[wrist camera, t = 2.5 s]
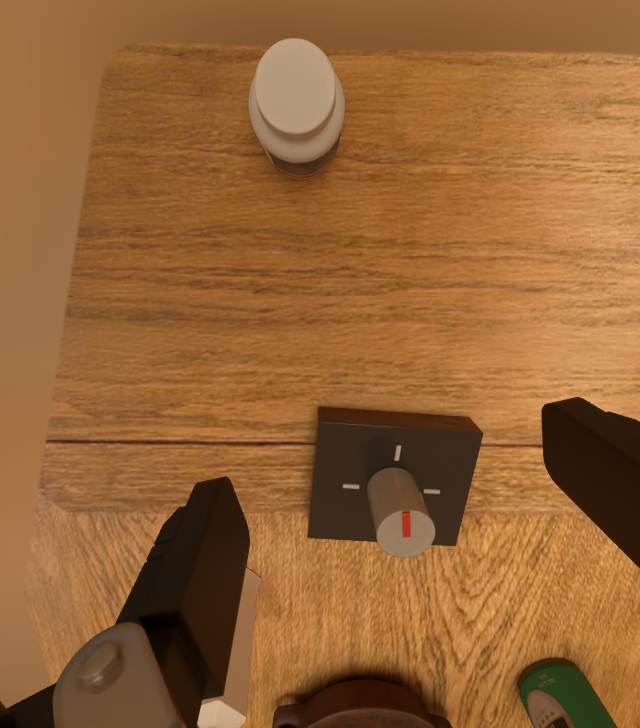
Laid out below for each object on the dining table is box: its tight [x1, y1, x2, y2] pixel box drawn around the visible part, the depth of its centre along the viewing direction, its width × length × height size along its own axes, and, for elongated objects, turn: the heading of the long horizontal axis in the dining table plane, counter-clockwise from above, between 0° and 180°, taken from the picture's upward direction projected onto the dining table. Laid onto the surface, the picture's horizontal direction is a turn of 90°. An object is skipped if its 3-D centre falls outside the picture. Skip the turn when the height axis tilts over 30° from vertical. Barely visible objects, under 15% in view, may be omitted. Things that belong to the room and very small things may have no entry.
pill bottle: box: [248, 38, 345, 179], centre depth 23 cm, size 5×5×10 cm
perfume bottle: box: [197, 568, 262, 728], centre depth 33 cm, size 5×4×15 cm
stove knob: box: [367, 467, 435, 558], centre depth 30 cm, size 4×4×6 cm
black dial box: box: [307, 407, 483, 546], centre depth 35 cm, size 14×12×3 cm
